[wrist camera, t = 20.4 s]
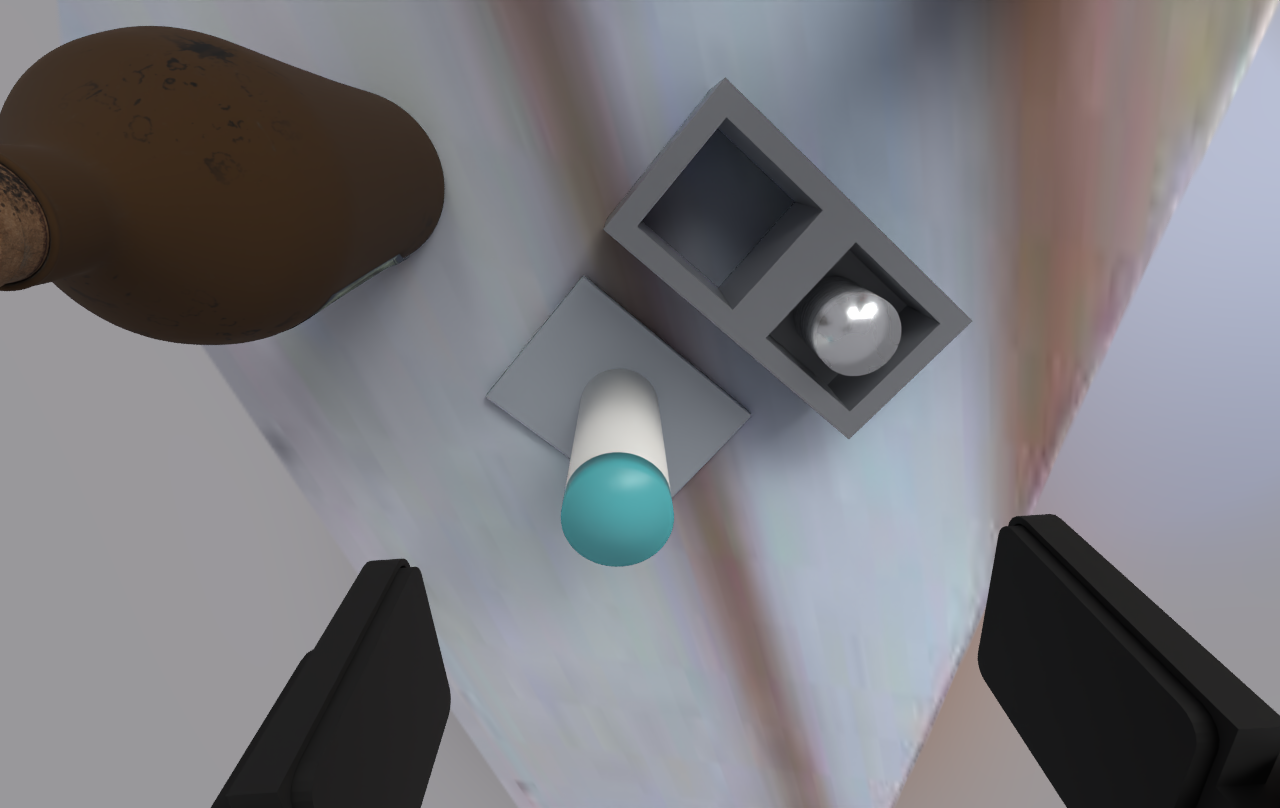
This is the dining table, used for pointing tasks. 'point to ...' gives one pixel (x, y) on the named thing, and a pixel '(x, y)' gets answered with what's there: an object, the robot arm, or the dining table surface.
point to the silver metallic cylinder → (848, 326)
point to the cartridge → (618, 473)
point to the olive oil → (204, 185)
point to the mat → (603, 340)
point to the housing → (791, 266)
